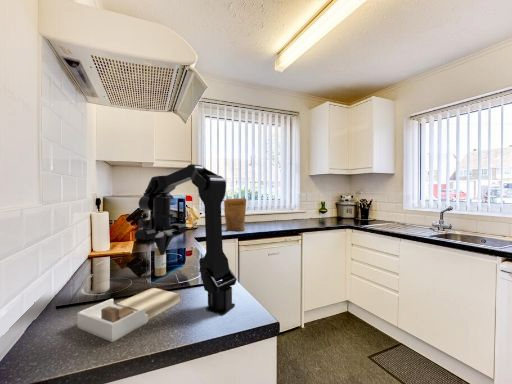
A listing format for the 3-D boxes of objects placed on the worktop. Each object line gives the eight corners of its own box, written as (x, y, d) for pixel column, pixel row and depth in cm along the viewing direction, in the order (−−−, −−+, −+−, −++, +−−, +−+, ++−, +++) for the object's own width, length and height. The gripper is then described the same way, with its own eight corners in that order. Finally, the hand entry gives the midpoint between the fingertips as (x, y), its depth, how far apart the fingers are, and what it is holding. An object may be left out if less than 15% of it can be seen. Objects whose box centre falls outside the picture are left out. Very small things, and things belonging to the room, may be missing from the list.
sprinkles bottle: (163, 272, 109) (162, 241, 109) (168, 274, 106) (167, 242, 106) (152, 274, 105) (152, 242, 105) (157, 277, 102) (157, 244, 102)
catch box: (148, 322, 68) (147, 307, 68) (112, 342, 59) (112, 325, 59) (114, 311, 74) (114, 297, 74) (77, 327, 65) (77, 312, 65)
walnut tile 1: (118, 308, 65) (111, 312, 64) (119, 324, 65) (111, 328, 64) (108, 306, 67) (101, 309, 65) (108, 321, 67) (101, 324, 65)
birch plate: (180, 301, 80) (179, 294, 80) (145, 321, 68) (145, 312, 68) (153, 295, 85) (153, 287, 85) (116, 311, 73) (116, 303, 73)
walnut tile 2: (133, 317, 69) (133, 310, 69) (120, 324, 65) (119, 316, 65) (123, 314, 71) (123, 307, 71) (110, 321, 67) (109, 313, 67)
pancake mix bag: (247, 231, 213) (246, 198, 213) (224, 232, 211) (223, 198, 210) (246, 230, 219) (246, 198, 219) (224, 230, 217) (224, 198, 217)
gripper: (165, 209, 103) (165, 247, 103) (123, 213, 86) (123, 258, 86) (186, 209, 98) (186, 250, 98) (146, 214, 81) (146, 262, 81)
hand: (162, 254), depth 91 cm, fingers closed
